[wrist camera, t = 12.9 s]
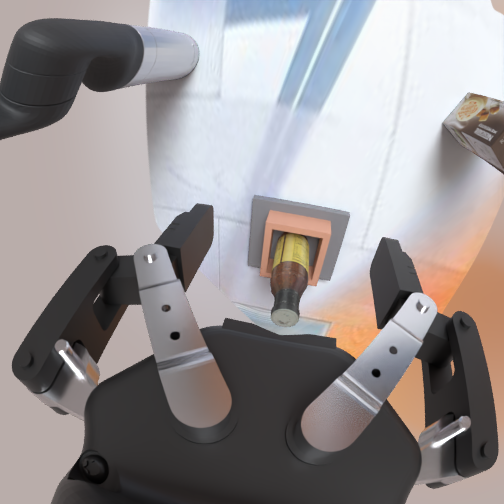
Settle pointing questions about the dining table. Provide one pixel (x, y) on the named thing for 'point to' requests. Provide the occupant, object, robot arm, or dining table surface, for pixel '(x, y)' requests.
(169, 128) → the dining table surface
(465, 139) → the coffee box
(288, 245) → the sauce bottle
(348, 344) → the dining table surface
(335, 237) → the planter box on base
